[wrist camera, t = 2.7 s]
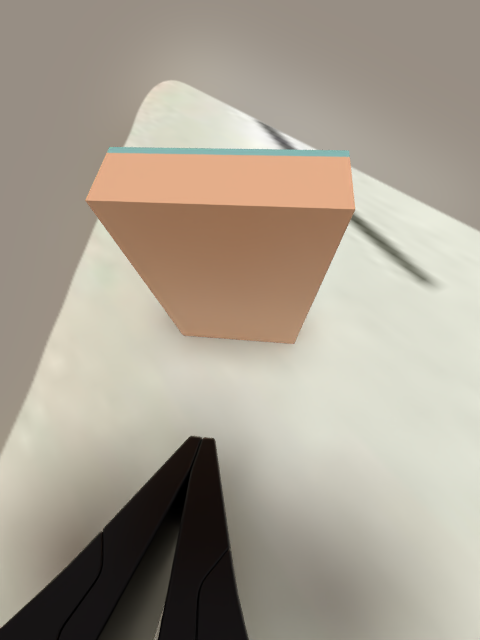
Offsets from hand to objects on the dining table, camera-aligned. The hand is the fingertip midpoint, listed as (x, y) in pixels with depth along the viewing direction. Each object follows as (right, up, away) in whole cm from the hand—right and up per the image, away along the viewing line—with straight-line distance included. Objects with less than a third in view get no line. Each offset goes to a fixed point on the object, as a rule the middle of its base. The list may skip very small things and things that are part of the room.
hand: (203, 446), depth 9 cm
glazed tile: (+1, +4, +10) cm, 11 cm away
